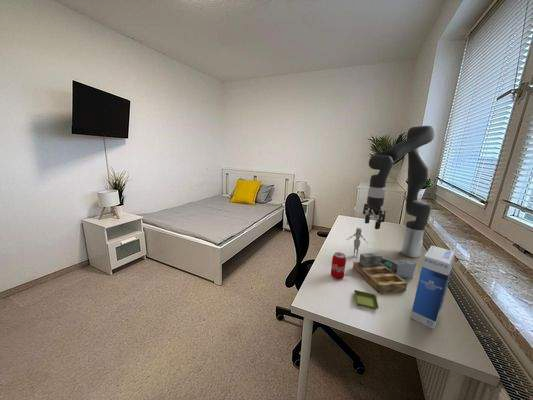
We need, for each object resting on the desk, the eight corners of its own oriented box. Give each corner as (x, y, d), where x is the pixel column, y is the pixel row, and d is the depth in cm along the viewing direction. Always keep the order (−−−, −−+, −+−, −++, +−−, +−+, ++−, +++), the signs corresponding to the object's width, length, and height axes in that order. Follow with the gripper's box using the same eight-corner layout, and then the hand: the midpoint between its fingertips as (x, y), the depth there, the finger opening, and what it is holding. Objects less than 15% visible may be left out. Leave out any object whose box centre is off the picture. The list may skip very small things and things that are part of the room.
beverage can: (337, 282, 100) (339, 259, 97) (327, 275, 105) (330, 253, 103) (346, 278, 103) (349, 256, 100) (337, 272, 108) (339, 250, 105)
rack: (376, 267, 114) (378, 250, 112) (405, 290, 95) (409, 271, 93) (352, 268, 112) (354, 252, 110) (377, 293, 93) (380, 274, 91)
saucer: (353, 306, 85) (354, 302, 84) (353, 293, 93) (353, 289, 92) (378, 312, 82) (378, 308, 82) (375, 298, 90) (376, 294, 90)
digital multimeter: (367, 256, 127) (367, 251, 126) (394, 266, 116) (395, 261, 115) (361, 260, 122) (362, 255, 121) (389, 271, 111) (390, 266, 111)
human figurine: (344, 255, 126) (347, 227, 122) (344, 253, 129) (348, 225, 125) (366, 260, 121) (370, 230, 117) (366, 257, 124) (370, 228, 120)
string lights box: (418, 302, 88) (431, 244, 82) (441, 312, 83) (457, 251, 77) (409, 318, 79) (423, 255, 73) (435, 330, 74) (451, 264, 68)
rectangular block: (407, 274, 108) (410, 260, 106) (412, 278, 105) (415, 263, 103) (389, 275, 107) (392, 261, 105) (394, 279, 103) (397, 265, 102)
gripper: (392, 198, 100) (387, 230, 104) (373, 192, 114) (369, 221, 118) (378, 199, 99) (373, 231, 103) (361, 192, 113) (357, 221, 117)
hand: (371, 226), depth 110 cm, fingers open, 8 cm apart
